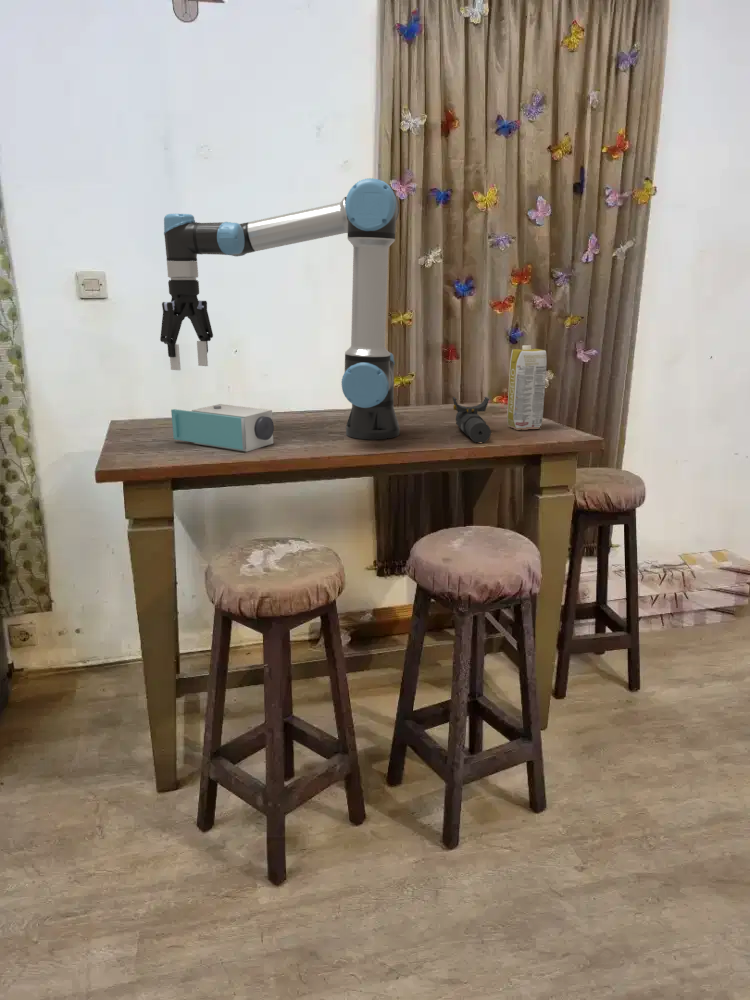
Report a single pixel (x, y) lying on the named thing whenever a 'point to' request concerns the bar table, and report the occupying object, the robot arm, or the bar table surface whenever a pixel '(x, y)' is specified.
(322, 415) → the bar table surface
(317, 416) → the bar table surface
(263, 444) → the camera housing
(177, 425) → the side door
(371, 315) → the robot arm
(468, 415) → the laser sight
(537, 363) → the juice carton
